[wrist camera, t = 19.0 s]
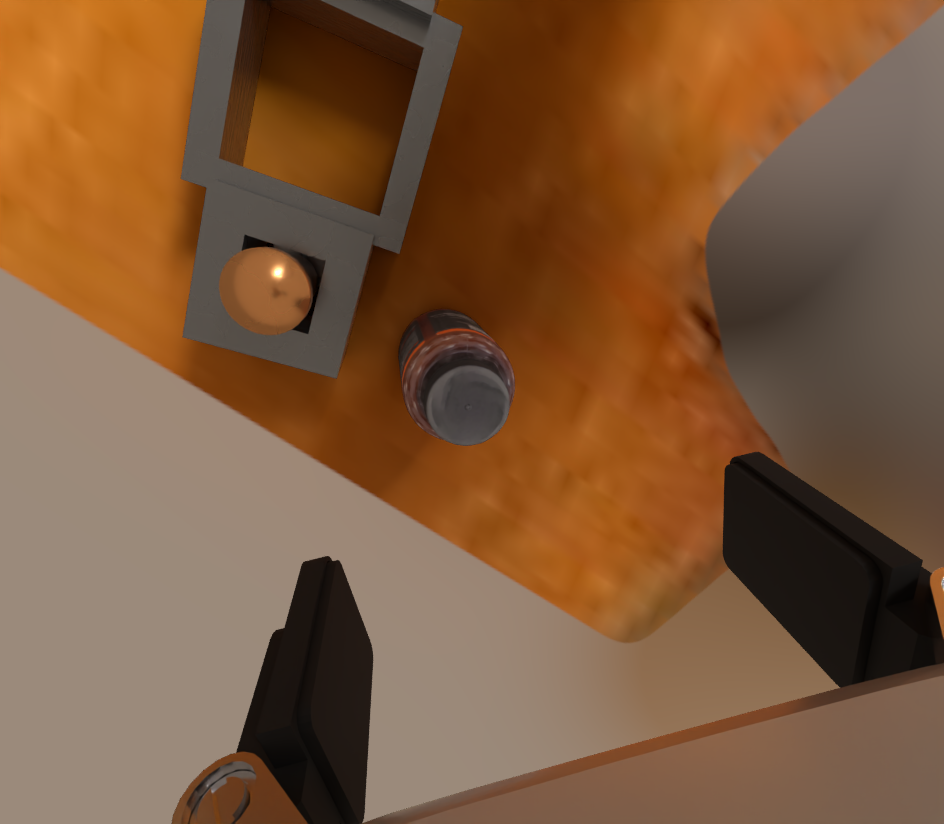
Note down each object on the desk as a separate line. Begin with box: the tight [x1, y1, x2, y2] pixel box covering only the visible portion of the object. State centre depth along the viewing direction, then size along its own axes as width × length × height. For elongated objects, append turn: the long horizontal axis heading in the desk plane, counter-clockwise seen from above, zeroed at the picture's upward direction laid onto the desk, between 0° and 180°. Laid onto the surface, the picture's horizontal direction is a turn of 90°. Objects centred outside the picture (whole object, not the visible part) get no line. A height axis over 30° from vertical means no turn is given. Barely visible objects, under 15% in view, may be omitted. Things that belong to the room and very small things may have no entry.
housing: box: [181, 0, 463, 379], centre depth 25 cm, size 26×11×5 cm, turn 161°
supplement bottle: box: [398, 309, 515, 446], centre depth 28 cm, size 6×6×11 cm
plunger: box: [219, 247, 318, 335], centre depth 26 cm, size 4×4×6 cm
